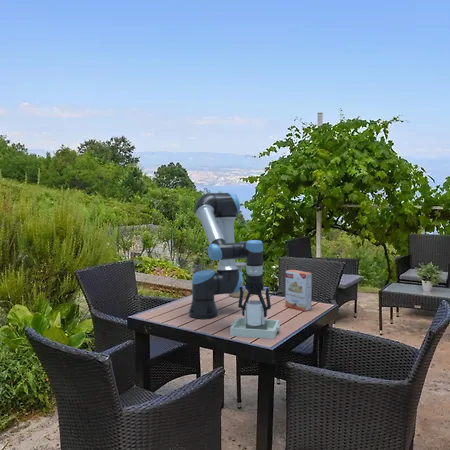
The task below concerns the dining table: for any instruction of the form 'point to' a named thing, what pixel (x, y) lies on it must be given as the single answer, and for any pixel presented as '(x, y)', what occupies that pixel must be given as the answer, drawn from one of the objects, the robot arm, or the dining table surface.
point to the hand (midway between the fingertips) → (254, 323)
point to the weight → (260, 327)
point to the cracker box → (298, 290)
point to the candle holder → (240, 267)
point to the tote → (241, 331)
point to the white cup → (254, 313)
